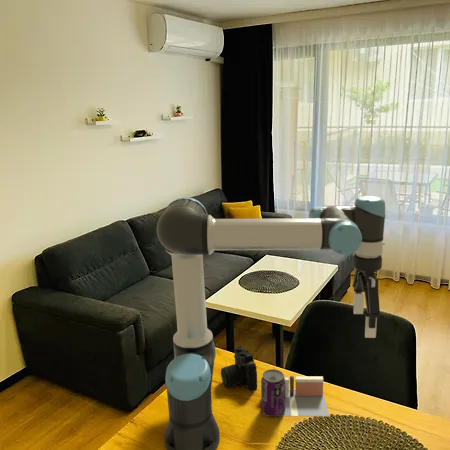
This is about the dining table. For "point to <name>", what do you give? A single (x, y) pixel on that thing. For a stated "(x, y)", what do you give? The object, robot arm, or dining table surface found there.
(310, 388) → the cream pink flat block
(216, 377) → the dining table surface
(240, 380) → the camera
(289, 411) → the mat
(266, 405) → the beverage can
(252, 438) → the dining table surface
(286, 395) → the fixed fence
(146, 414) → the dining table surface
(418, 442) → the dining table surface
